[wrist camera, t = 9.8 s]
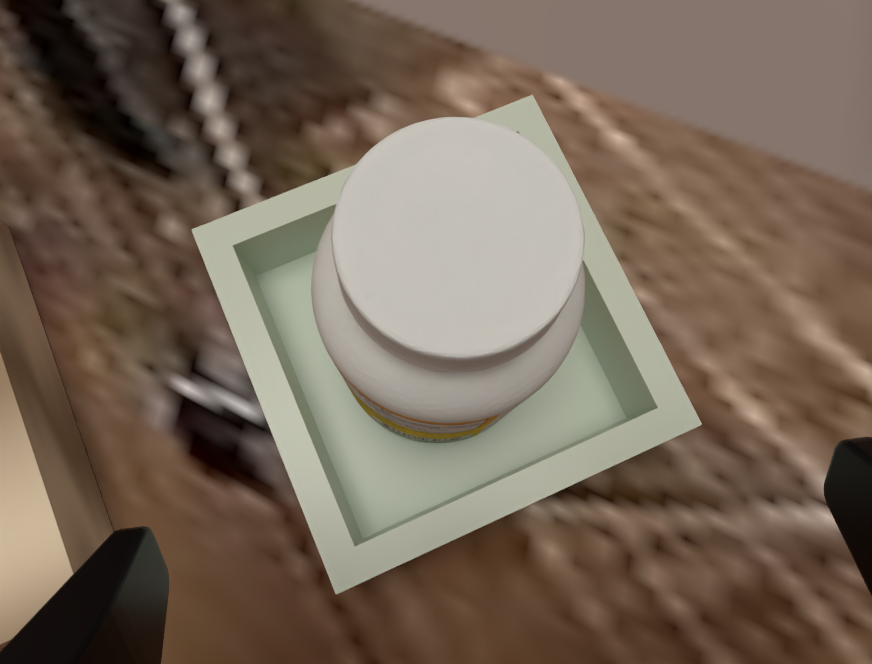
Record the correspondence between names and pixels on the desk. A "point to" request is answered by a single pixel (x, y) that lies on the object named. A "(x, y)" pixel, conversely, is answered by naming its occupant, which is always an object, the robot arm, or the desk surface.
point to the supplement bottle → (450, 277)
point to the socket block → (37, 462)
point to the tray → (418, 461)
